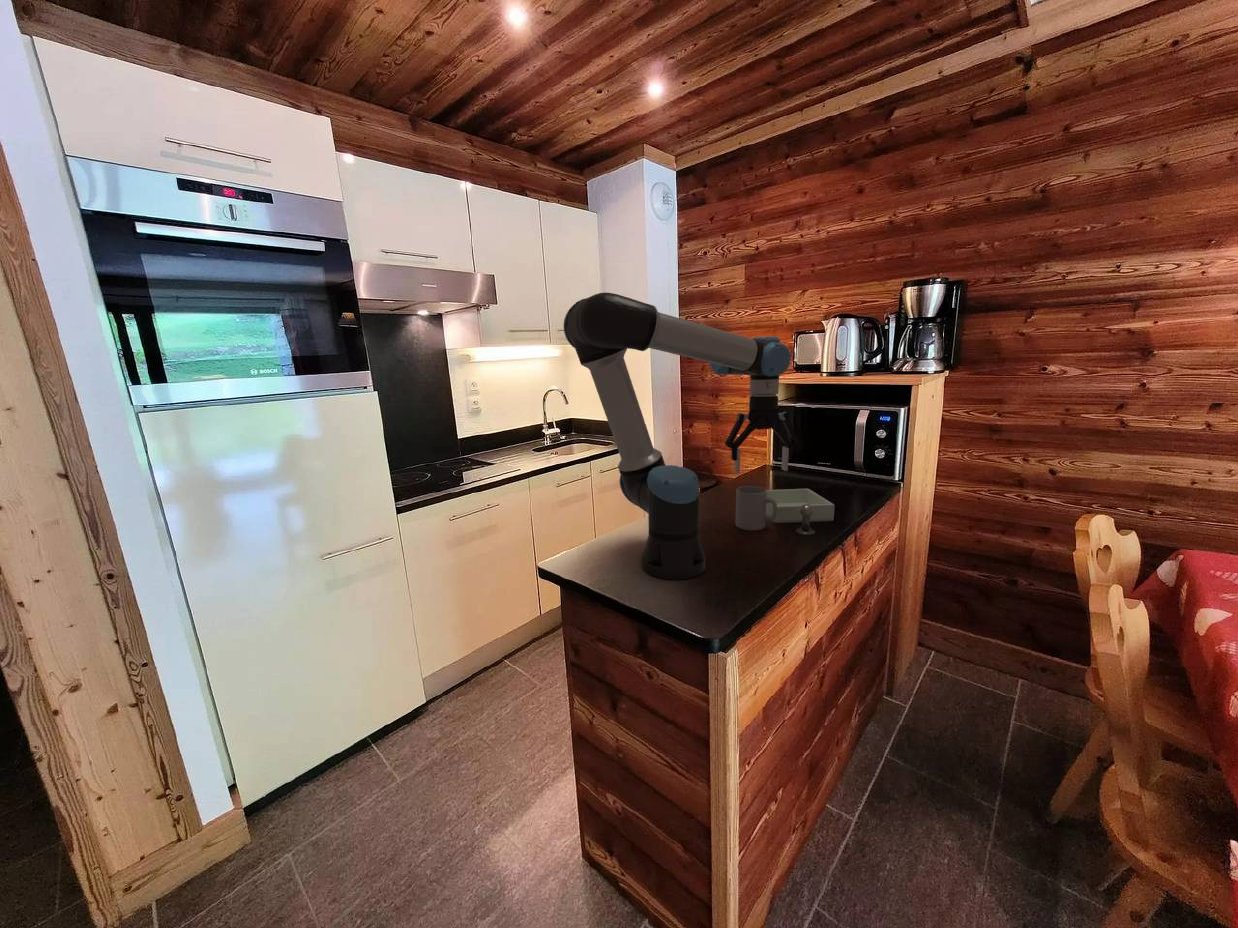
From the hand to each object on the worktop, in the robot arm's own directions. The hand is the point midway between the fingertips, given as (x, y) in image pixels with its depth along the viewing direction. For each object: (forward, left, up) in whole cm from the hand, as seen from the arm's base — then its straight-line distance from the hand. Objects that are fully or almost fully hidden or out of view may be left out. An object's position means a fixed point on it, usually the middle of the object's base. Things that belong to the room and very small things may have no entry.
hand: (760, 470), depth 135 cm
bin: (+14, +11, -17) cm, 25 cm away
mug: (-1, 0, -17) cm, 17 cm away
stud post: (+11, -6, -17) cm, 21 cm away
